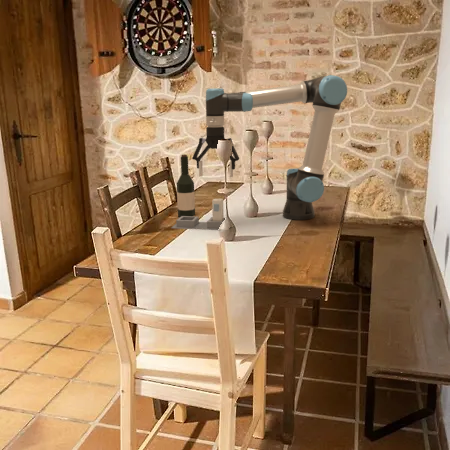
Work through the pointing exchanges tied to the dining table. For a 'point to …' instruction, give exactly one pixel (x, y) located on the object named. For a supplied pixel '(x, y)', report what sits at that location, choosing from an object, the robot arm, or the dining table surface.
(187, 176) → the wine bottle
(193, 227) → the grey holder tray
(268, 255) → the dining table surface
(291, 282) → the dining table surface
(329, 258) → the dining table surface
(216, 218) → the cream box
